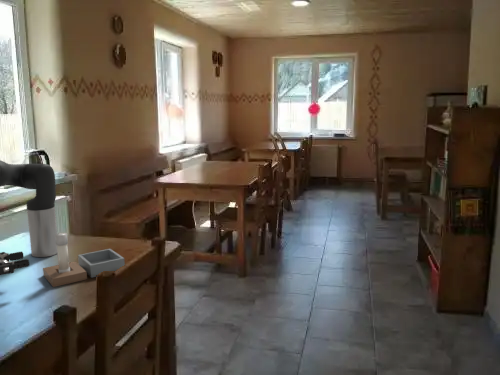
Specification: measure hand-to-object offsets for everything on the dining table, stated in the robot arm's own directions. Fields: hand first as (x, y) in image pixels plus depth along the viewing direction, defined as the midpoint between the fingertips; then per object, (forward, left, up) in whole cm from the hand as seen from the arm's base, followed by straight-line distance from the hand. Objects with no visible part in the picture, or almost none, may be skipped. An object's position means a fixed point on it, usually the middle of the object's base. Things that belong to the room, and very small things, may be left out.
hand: (25, 258), depth 138 cm
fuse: (0, +10, -9) cm, 14 cm away
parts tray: (-1, +22, -9) cm, 24 cm away
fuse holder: (0, +10, -9) cm, 14 cm away
